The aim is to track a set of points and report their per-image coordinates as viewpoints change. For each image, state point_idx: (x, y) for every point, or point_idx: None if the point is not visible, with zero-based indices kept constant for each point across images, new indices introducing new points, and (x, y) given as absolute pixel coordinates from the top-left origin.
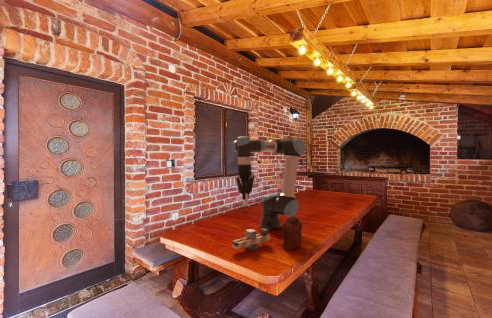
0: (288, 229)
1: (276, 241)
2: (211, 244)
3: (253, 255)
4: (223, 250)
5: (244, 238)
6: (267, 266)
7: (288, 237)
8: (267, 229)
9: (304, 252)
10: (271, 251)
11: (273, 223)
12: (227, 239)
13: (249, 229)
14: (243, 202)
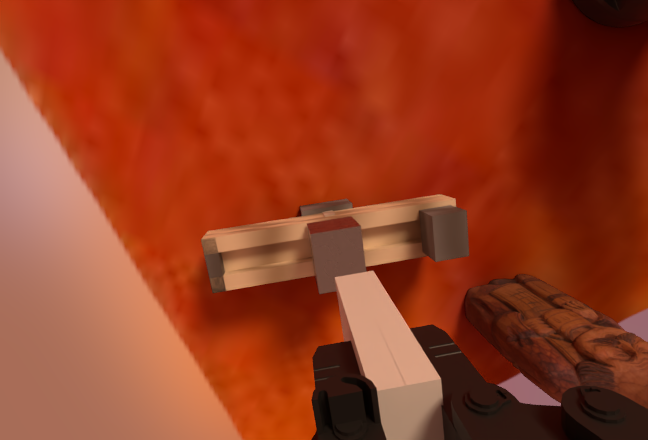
0: (540, 388)
1: (491, 207)
2: (127, 63)
3: (297, 307)
4: (174, 186)
5: (291, 237)
6: (301, 418)
7: (508, 359)
8: (467, 247)
9: (513, 369)
10: (396, 303)
11: (640, 3)
12: (253, 32)
13: (340, 237)
14: (338, 289)
